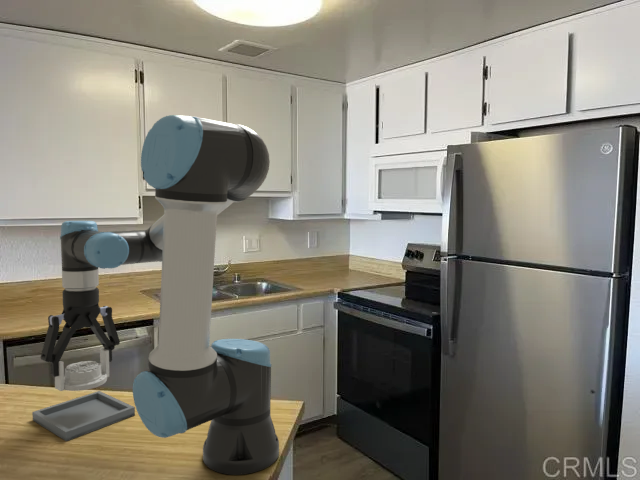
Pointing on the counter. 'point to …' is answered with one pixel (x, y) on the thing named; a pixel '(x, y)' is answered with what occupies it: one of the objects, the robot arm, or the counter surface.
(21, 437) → the counter surface
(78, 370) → the mechanical component
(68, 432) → the dock tray
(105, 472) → the counter surface
